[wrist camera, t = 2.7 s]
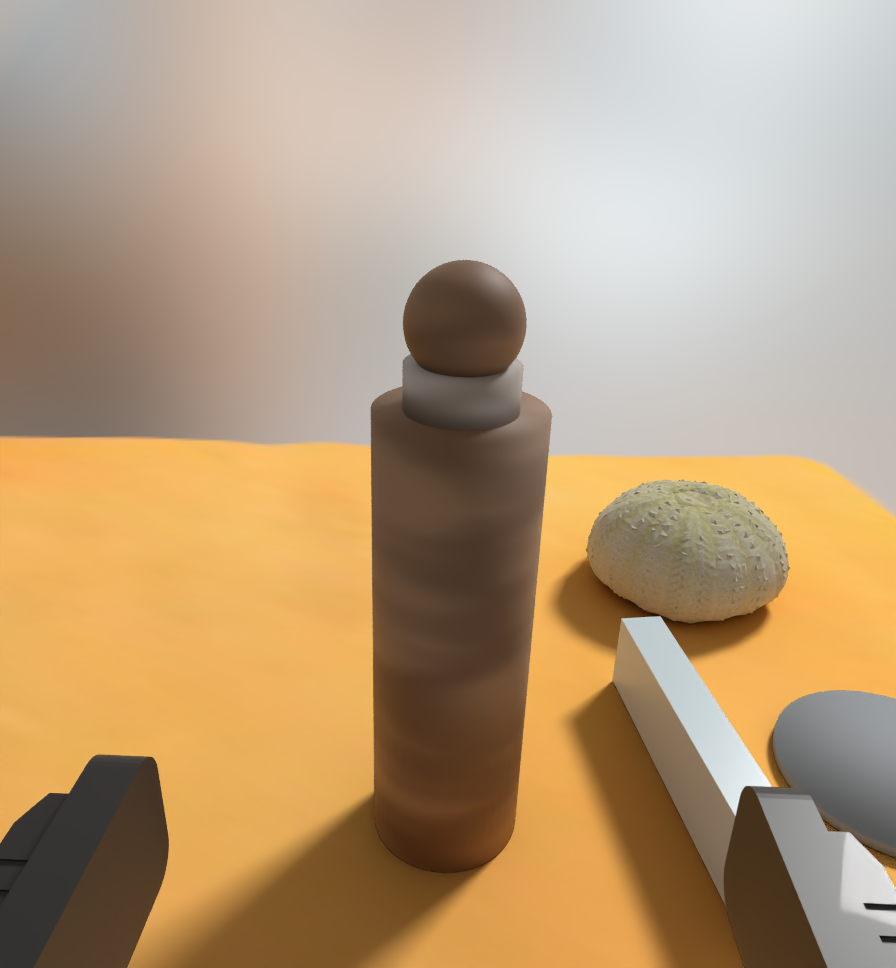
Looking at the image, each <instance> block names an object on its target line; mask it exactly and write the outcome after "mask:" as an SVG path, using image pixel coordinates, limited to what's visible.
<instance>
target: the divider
mask: <svg viewBox="0 0 896 968" xmlns="http://www.w3.org/2000/svg"><path fill="white" fill-rule="evenodd" d="M613 682H614V684H615V686H616V688H617V690H618V692H619V694H620V696H621V698H622V700H623V702H624V704H625V706H626V708H627V710H628V712H629V714H630V716H631V718H632V720H633V722H634V724H635V726H636V728H637V730H638V732H639V734H640V736H641V738H642V740H643V742H644V744H645V746H646V748H647V750H648V752H649V754H650V756H651V758H652V760H653V762H654V764H655V766H656V768H657V770H658V772H659V774H660V776H661V778H662V780H663V782H664V784H665V786H666V788H667V790H668V792H669V794H670V796H671V798H672V800H673V802H674V804H675V806H676V808H677V810H678V812H679V814H680V816H681V818H682V820H683V822H684V824H685V826H686V828H687V830H688V832H689V834H690V836H691V838H692V840H693V842H694V844H695V846H696V848H697V850H698V852H699V854H700V856H701V858H702V860H703V862H704V864H705V866H706V868H707V870H708V872H709V874H710V876H711V878H712V880H713V882H714V884H715V886H716V888H717V890H718V892H719V894H720V896H721V898H722V900H723V902H724V904H725V897H724V882H723V878H724V866H725V861H726V856H727V852H728V847H729V843H730V838H731V834H732V830H733V825H734V821H735V816H736V812H737V807H738V803H739V799H740V795H741V792H742V790H743V788H744V787H745V786H764V787H772V786H771V784H770V783H769V781H768V780H767V778H766V777H765V775H764V774H763V772H762V771H761V769H760V768H759V766H758V765H757V763H756V762H755V760H754V759H753V757H752V755H751V754H750V752H749V751H748V749H747V748H746V746H745V745H744V743H743V742H742V740H741V739H740V737H739V736H738V734H737V733H736V731H735V729H734V728H733V726H732V725H731V723H730V722H729V720H728V719H727V717H726V716H725V714H724V713H723V711H722V710H721V708H720V707H719V705H718V704H717V702H716V700H715V699H714V697H713V696H712V694H711V693H710V691H709V690H708V688H707V687H706V685H705V684H704V682H703V681H702V679H701V678H700V676H699V674H698V673H697V671H696V670H695V668H694V667H693V665H692V664H691V662H690V661H689V659H688V658H687V656H686V655H685V653H684V652H683V650H682V649H681V647H680V645H679V644H678V642H677V641H676V639H675V638H674V636H673V635H672V633H671V632H670V630H669V629H668V627H667V626H666V624H665V623H664V621H663V619H662V618H661V616H656V617H638V618H621V624H620V631H619V638H618V645H617V652H616V659H615V666H614V673H613ZM725 906H726V904H725Z"/></svg>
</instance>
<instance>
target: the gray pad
mask: <svg viewBox="0 0 896 968" xmlns="http://www.w3.org/2000/svg"><path fill="white" fill-rule="evenodd" d="M772 746H773V753H774V758H775V761H776V763H777V766H778V768H779V771H780V772H781V774H782V776H783V777H784V779H785V781H786V782H787V784H788V785H789V786H790V788H802V789H805V790H806V791H807V792H808V793H809V795H810V796H811V798H812V800H813V802H814V804H815V806H816V808H817V810H818V812H819V814H820V816H821V818H822V819H823V820H824V821H826V822H827V823H828V824H830V825H831V826H832V827H834V828H836V829H837V830H839V831H840V832H850V833H851V834H852V835H853V836H854V837H855V838H856V839H857V840H858V841H859V842H860V843H862V844H863V845H865V846H868V847H870V848H872V849H874V850H877V851H879V852H881V853H884V854H887V855H889V856H892V857H895V858H896V699H894V698H890V697H887V696H882V695H877V694H873V693H866V692H859V691H845V690H839V691H824V692H818V693H814V694H809V695H806V696H804V697H801V698H799V699H797V700H795V701H794V702H792V703H790V704H789V705H788V706H787V707H786V708H785V709H784V710H783V711H782V713H781V714H780V715H779V717H778V720H777V722H776V725H775V729H774V733H773V739H772Z"/></svg>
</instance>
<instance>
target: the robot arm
mask: <svg viewBox="0 0 896 968" xmlns="http://www.w3.org/2000/svg"><path fill="white" fill-rule="evenodd" d="M168 850H169V839H168V831H167V824H166V818H165V812H164V805H163V799H162V793H161V786H160V780H159V774H158V768H157V764H156V761H155V760H154V758H152V757H143V756H121V755H95V756H94V757H93V758H92V759H91V760H90V761H89V762H88V764H87V765H86V767H85V768H84V770H83V772H82V773H81V775H80V777H79V778H78V780H77V781H76V783H75V785H74V786H73V788H72V790H71V791H70V793H69V794H61V793H49V794H48V795H47V796H45V797H44V798H43V799H42V800H41V801H39V802H38V803H37V804H36V805H35V806H33V807H32V808H31V809H30V810H29V811H27V812H26V813H25V814H24V815H23V816H22V817H20V818H19V819H18V820H17V821H16V822H14V824H13V825H12V827H11V828H10V830H9V831H8V833H7V834H6V836H5V837H4V839H3V840H2V842H1V843H0V968H127V967H128V964H129V962H130V960H131V957H132V955H133V952H134V950H135V948H136V945H137V943H138V940H139V938H140V936H141V933H142V931H143V928H144V926H145V924H146V921H147V919H148V916H149V914H150V912H151V909H152V907H153V904H154V902H155V900H156V897H157V895H158V892H159V890H160V887H161V885H162V882H163V878H164V875H165V871H166V866H167V859H168ZM723 882H724V897H725V904H726V909H727V914H728V917H729V921H730V924H731V927H732V931H733V934H734V937H735V940H736V943H737V947H738V950H739V953H740V956H741V959H742V963H743V966H744V968H896V889H895V887H894V885H893V883H892V881H891V879H890V878H889V876H888V874H887V872H886V870H885V868H884V866H883V865H882V864H881V863H880V862H879V861H878V860H877V859H876V858H875V857H874V856H873V855H872V854H871V853H870V852H869V851H868V850H867V849H866V848H865V847H864V846H863V845H862V844H861V843H860V842H859V841H858V840H857V839H856V838H855V837H854V836H853V835H852V834H851V833H850V832H836V831H828V830H827V828H826V826H825V824H824V822H823V820H822V818H821V816H820V814H819V812H818V810H817V808H816V806H815V804H814V802H813V800H812V798H811V796H810V795H809V793H808V792H807V791H806V790H805V789H802V788H787V787H764V786H745V787H744V788H743V790H742V792H741V795H740V799H739V803H738V807H737V812H736V816H735V821H734V825H733V830H732V834H731V838H730V843H729V847H728V852H727V856H726V861H725V866H724V878H723Z"/></svg>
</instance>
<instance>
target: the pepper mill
mask: <svg viewBox="0 0 896 968" xmlns="http://www.w3.org/2000/svg"><path fill="white" fill-rule="evenodd" d="M403 329H404V336H405V341H406V344H407V347H408V349H409V351H410V353H411V354H410V355H408V356H407V357H406V358H405V359H404V360H403V387H399V388H396V389H393V390H391V391H388V392H386V393H384V394H383V395H380V396H379V397H378V398H377V399H375V401H374V402H373V403H372V405H371V490H372V598H373V706H374V813H375V825H376V828H377V831H378V834H379V836H380V838H381V840H382V841H383V843H384V844H385V845H386V847H387V848H388V849H389V850H390V851H391V852H392V853H393V854H394V855H396V856H397V857H398V858H399V859H401V860H403V861H404V862H406V863H408V864H410V865H412V866H415V867H417V868H421V869H424V870H428V871H434V872H445V873H446V872H459V871H465V870H469V869H473V868H475V867H478V866H480V865H483V864H485V863H486V862H488V861H490V860H491V859H493V858H494V857H495V856H497V855H498V854H499V853H500V852H501V851H502V850H503V849H504V847H505V846H506V845H507V843H508V842H509V840H510V838H511V836H512V833H513V830H514V825H515V816H516V805H517V794H518V783H519V772H520V761H521V750H522V739H523V728H524V717H525V706H526V695H527V684H528V673H529V662H530V651H531V640H532V629H533V618H534V606H535V595H536V584H537V573H538V562H539V551H540V540H541V529H542V518H543V507H544V496H545V485H546V474H547V463H548V452H549V440H550V430H551V419H552V414H551V410H550V409H549V407H548V406H547V405H546V404H545V403H544V402H542V401H541V400H539V399H538V398H536V397H534V396H532V395H530V394H528V393H525V392H522V380H523V364H522V363H521V362H520V361H519V360H518V359H516V357H517V355H518V354H519V352H520V349H521V347H522V345H523V342H524V338H525V334H526V313H525V307H524V304H523V301H522V298H521V296H520V294H519V292H518V291H517V289H516V287H515V286H514V284H513V283H512V282H511V281H510V280H509V279H508V278H507V277H506V276H505V275H504V274H503V273H502V272H500V271H499V270H497V269H495V268H494V267H492V266H490V265H488V264H485V263H482V262H478V261H471V260H458V261H452V262H448V263H445V264H442V265H440V266H438V267H436V268H434V269H433V270H431V271H430V272H428V273H427V274H426V275H425V276H423V277H422V278H421V279H420V281H419V282H418V283H417V284H416V285H415V287H414V288H413V290H412V292H411V294H410V296H409V298H408V300H407V303H406V306H405V310H404V316H403Z"/></svg>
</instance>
